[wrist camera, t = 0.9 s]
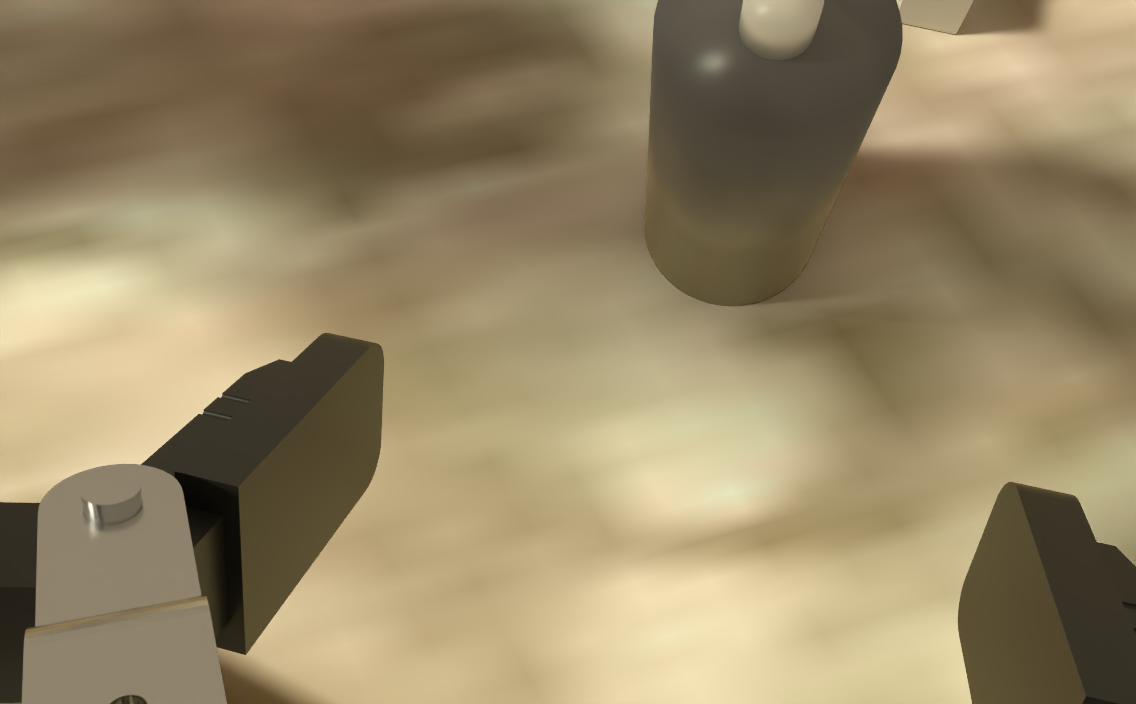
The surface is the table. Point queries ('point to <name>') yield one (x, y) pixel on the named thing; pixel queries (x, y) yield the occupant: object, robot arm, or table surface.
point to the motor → (934, 13)
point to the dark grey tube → (756, 133)
